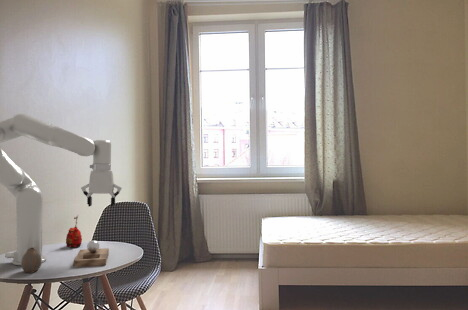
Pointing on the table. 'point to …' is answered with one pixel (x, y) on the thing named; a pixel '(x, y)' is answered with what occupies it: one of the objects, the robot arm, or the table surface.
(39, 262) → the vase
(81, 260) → the board
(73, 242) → the red clay folk toy
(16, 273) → the table surface
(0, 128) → the robot arm
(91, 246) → the ball
